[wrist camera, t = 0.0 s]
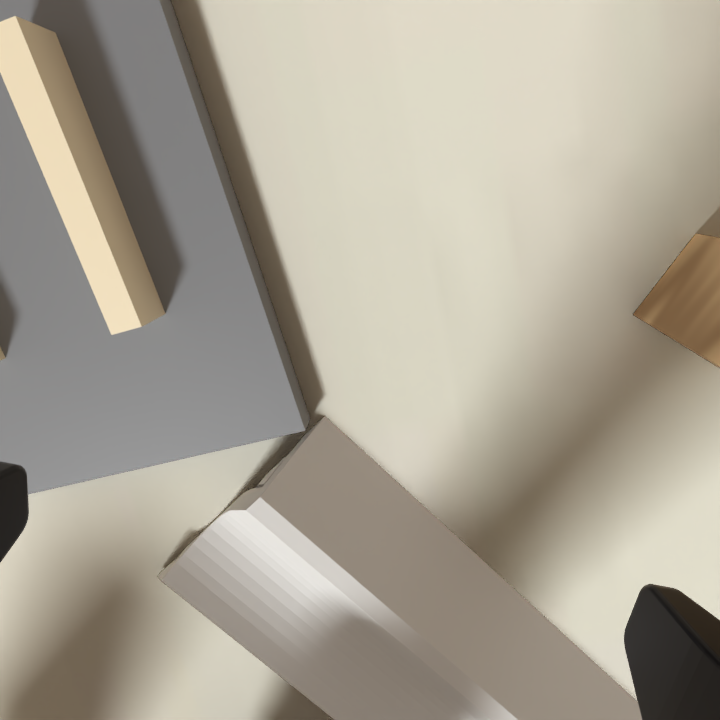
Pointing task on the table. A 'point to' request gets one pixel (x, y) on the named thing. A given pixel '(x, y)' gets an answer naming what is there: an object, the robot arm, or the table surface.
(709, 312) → the wooden board
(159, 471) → the table surface
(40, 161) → the groove board
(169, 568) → the crown molding
